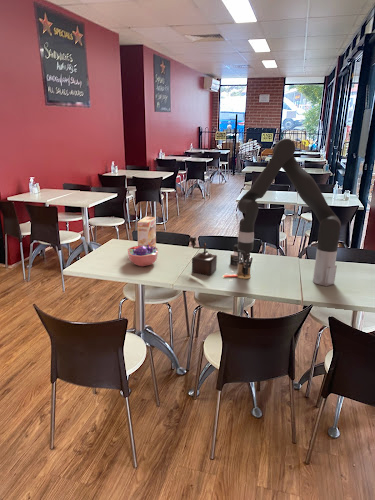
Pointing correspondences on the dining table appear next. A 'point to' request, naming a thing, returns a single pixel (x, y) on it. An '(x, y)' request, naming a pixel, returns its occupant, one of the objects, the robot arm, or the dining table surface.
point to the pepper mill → (203, 260)
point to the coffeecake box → (147, 231)
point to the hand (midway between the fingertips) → (243, 272)
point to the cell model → (143, 255)
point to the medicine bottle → (234, 256)
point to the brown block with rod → (240, 272)
